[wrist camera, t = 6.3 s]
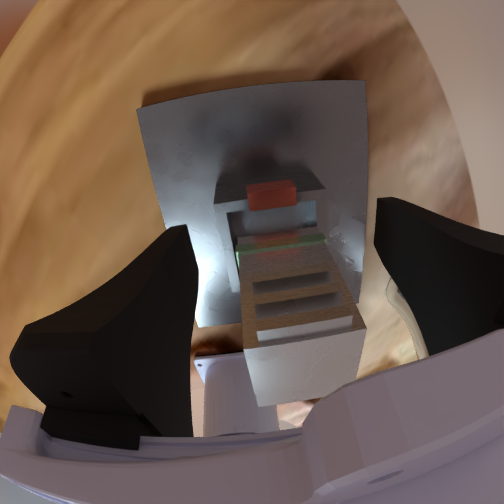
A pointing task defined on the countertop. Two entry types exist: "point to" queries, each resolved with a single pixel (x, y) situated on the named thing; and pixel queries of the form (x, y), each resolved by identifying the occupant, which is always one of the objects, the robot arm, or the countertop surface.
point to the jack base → (261, 175)
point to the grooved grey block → (296, 317)
